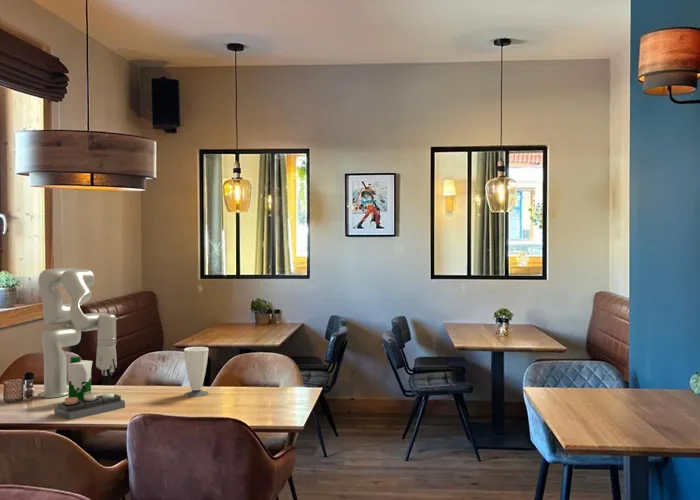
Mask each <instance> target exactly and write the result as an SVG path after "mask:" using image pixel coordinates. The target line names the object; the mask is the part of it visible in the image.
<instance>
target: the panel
mask: <svg viewBox="0 0 700 500" xmlns="http://www.w3.org/2000/svg"><path fill="white" fill-rule="evenodd" d="M113 394H114V397H111V398H106V399H104V398H102V395H103V394H101V395H97V399H96V400H93V401H84V399H81V400H78V403H77V404H73V405H65V402H62V403H58V404H57V405H55V406H53V407H54V409H53V411H54V412H53V413H54V415H57V416H59V417H60V418H63V419H66V420H68V421H72V420H75V419H80V418H85V417H89V416H94V415H98V414H99V415H100V414H103V413H106V412H111V411H115V410H121V409H124V408H126V401H125V399H122V395H119V394H117V393H113Z"/></svg>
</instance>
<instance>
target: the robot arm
mask: <svg viewBox="0 0 700 500" xmlns="http://www.w3.org/2000/svg"><path fill="white" fill-rule="evenodd" d="M95 279H96V278H95V274H94V273H93V271H92V270H90V269H88V268H81V267H80V268H79V267H59V268H57V267H56V268H47V269H45V270H42V271H41V272H40V274H39V276H38V279H37V280H38V288H39V291H40V293H41V300H42V302H41V303H42V311H43V312H42V315H43V321H44V323H45V324H46V325H48V326H59V325H65V326H62V327H60V326H59V327H52V328H49V329H46V330H44V331H43V332H42V334H41V336H40V338H41V339H40V340H41V345H42V351H43V389H44V390H43V392H41V393H40V397H41V398H45V399H46V398H47V399H51V398H52V399H53V398H61V397H65V396H69V389H67V386H68V385H67V378H68V377H67V355H66V353H65V351H64V350H63V349H62V348H66V347H67V348H68V347H72V346H73V347H74V346H77V345H78V344H79V343H80V341H81V339H82V338H81V337H82V332H89V331H97V346H96V356H95V357H96V358H95V367H96V368H97V369H99V370H100V371H101V375H102V385H103V386H109V385H111V384H112V376H113V373H114V372H115V369H116V368H117V367H118V366H117V364H118V362H117V360H118V358H117V349H116V346H117V317H116V315H115V314H112V313H107V312H99V311H98V312H91V313H90V312H89V313H83V311H82V308H81V306H82V305H84V304H86V303H87V302H88V301H89V300H90V299H91V298H92V295H93V294H92V291H91V290H90V289H89V288H90V287H91V286H93V285H94V283H95ZM58 287H64V289H65V290H66V292H67V294H68V296H69V297H70V299H71V300H72V302H71V303H63V295H62V292H61V291H60V290H59V289H58Z"/></svg>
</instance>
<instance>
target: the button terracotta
mask: <svg viewBox="0 0 700 500" xmlns="http://www.w3.org/2000/svg"><path fill="white" fill-rule="evenodd" d="M68 397H69V396H68ZM68 397H66V398H64V403H65V405H73V404H77V403H78V397H69V398H68Z"/></svg>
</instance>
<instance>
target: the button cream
mask: <svg viewBox="0 0 700 500" xmlns="http://www.w3.org/2000/svg"><path fill="white" fill-rule="evenodd" d="M97 396H98V395H97V393H92V392H91V393H90V394H85V395H84V401H93V400H96V399H97Z"/></svg>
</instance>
